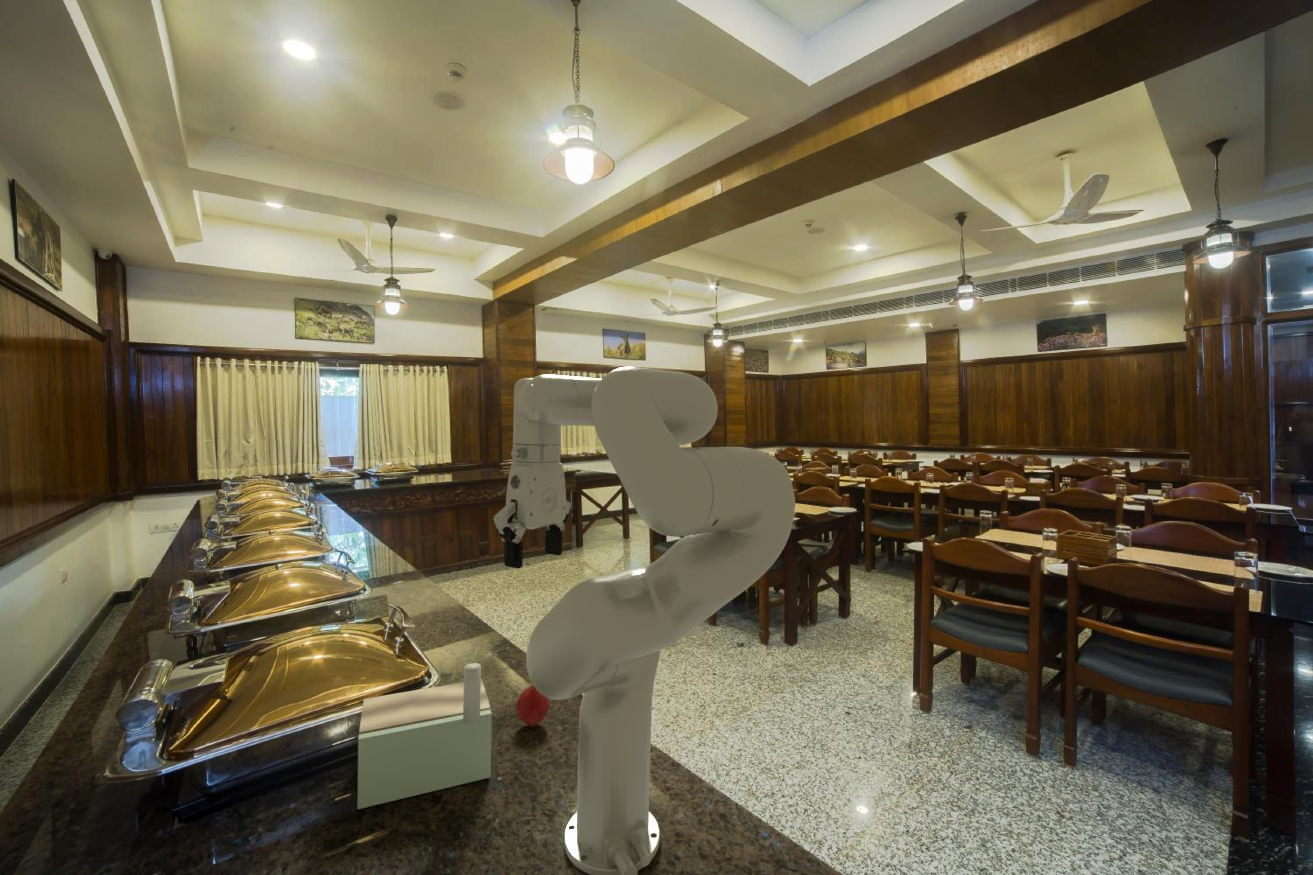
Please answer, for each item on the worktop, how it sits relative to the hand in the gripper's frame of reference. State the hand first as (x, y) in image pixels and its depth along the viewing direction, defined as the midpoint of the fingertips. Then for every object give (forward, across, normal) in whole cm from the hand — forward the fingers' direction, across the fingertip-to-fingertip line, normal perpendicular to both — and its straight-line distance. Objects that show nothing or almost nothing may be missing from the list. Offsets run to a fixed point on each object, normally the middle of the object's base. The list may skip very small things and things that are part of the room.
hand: (534, 560), depth 89 cm
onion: (+33, +7, +6) cm, 34 cm away
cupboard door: (+32, -15, +6) cm, 36 cm away
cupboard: (+33, -11, +12) cm, 36 cm away
